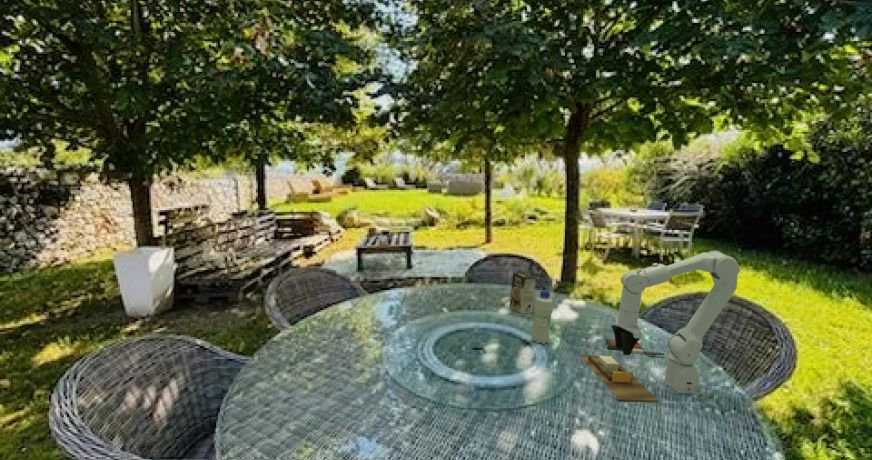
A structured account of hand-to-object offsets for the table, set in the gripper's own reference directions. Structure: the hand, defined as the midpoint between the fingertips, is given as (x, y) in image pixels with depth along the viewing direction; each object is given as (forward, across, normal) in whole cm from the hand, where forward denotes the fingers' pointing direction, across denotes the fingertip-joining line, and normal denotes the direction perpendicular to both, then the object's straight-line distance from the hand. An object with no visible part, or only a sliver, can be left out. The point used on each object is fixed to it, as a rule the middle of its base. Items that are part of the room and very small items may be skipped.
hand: (623, 351), depth 153 cm
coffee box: (+10, -65, -14) cm, 67 cm away
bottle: (+10, -28, -17) cm, 34 cm away
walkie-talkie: (+10, -23, +17) cm, 30 cm away
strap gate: (+8, +4, -1) cm, 9 cm away
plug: (+9, -6, -1) cm, 11 cm away
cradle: (+9, -1, -1) cm, 10 cm away
